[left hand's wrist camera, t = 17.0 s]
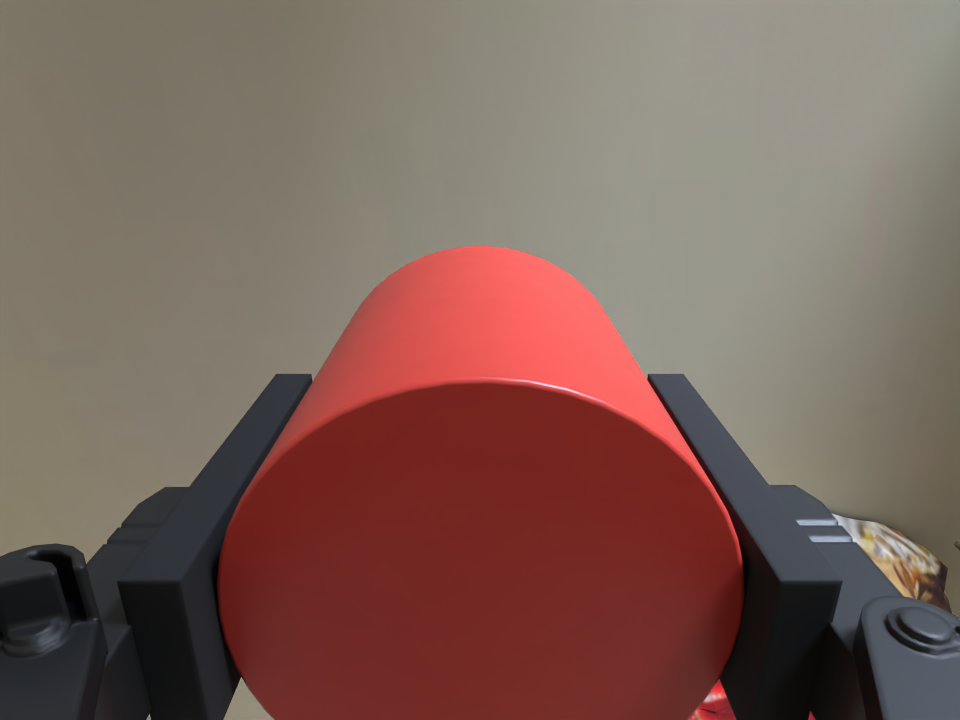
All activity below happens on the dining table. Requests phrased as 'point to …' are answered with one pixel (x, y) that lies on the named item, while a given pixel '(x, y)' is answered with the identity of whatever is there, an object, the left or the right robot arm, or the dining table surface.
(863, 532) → the cake
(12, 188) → the dining table surface
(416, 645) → the canister
